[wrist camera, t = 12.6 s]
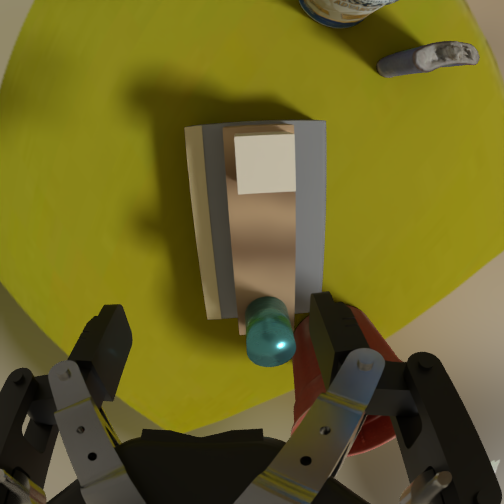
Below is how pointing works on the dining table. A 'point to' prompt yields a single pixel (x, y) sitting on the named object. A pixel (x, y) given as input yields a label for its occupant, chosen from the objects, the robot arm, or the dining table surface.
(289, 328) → the teal canister
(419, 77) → the dining table surface
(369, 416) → the flower pot
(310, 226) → the dock
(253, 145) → the white cube
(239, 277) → the pallet
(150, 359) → the dining table surface
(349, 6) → the beverage bottle
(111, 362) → the robot arm
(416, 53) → the flask
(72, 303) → the dining table surface
